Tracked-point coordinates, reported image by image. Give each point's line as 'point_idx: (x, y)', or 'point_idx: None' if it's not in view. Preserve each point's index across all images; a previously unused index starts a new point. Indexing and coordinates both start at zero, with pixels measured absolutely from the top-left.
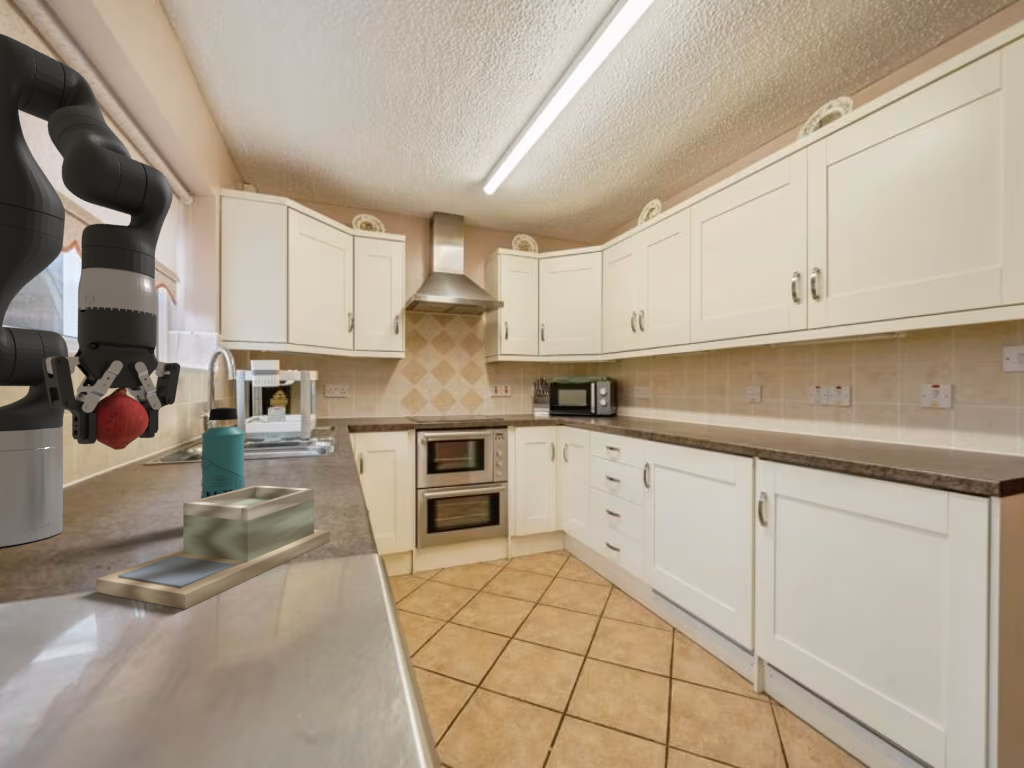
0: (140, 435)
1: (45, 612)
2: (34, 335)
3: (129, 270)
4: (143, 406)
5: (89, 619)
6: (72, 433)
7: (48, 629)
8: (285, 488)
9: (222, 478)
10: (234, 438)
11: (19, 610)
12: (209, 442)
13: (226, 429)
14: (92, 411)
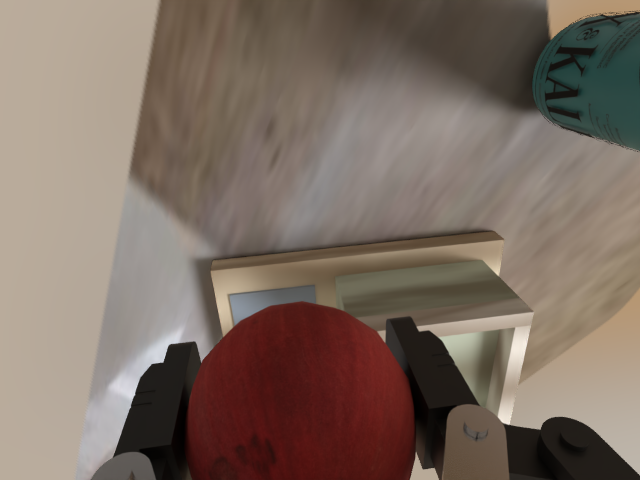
0: (389, 330)
1: (149, 271)
2: None
3: None
4: (442, 450)
5: (173, 340)
6: (138, 387)
7: (137, 327)
8: (505, 393)
9: (618, 138)
10: None
11: (130, 230)
12: None
13: None
14: (191, 477)
